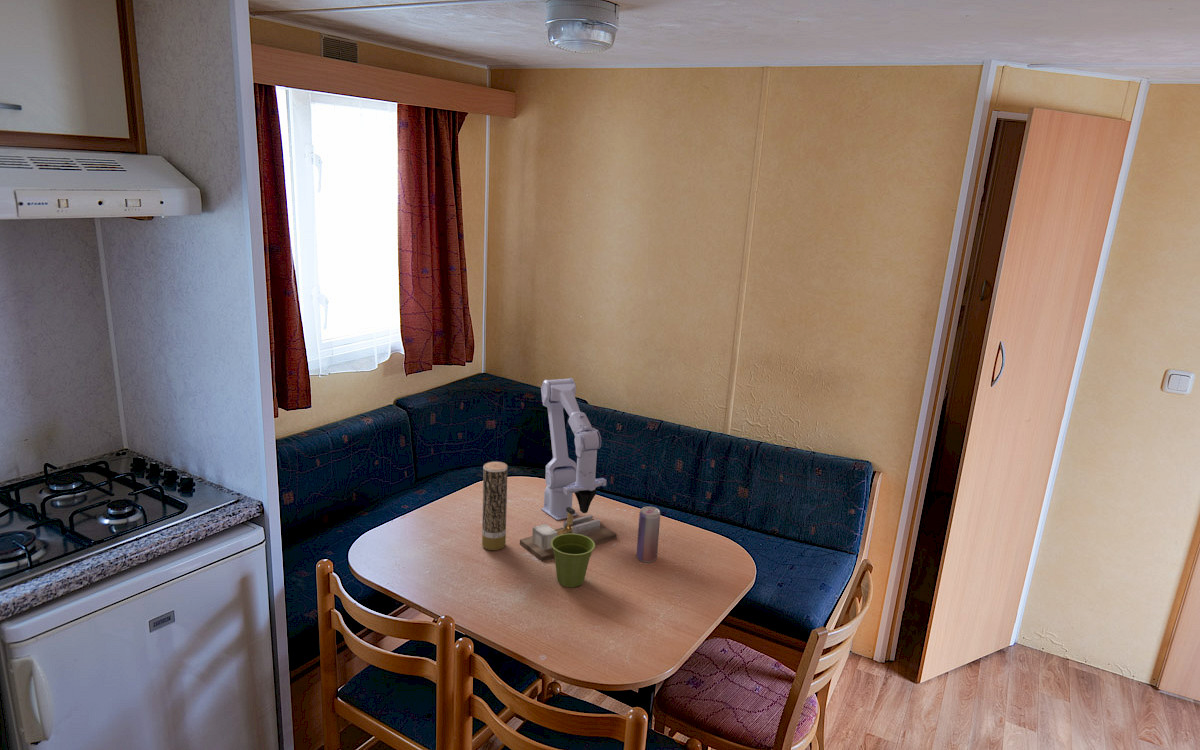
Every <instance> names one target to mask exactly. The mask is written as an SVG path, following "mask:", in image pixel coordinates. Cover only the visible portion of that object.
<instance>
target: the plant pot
mask: <svg viewBox="0 0 1200 750" xmlns="http://www.w3.org/2000/svg"><path fill="white" fill-rule="evenodd" d="M551 546H552V548H553V552H554V555H555V558H554V563H555V572H556V573H555V574H556V580H557V583H559V584H560V585H561V586H563V587H565V588H576V587H577V586H582V585H583V584H584V582H585V578H586V574H587V571H588V570H587V569H588V567H589V562H590V559H591V556H592V552H593V551H594V550H595V548H596V545H595V543H594V541H593V540H592V539H591V538H589V537H587V536H584V535H581V534H574V533H568V534H561V535H558V536H556V537H554V538H553V539H552V541H551Z"/></svg>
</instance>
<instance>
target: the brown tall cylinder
mask: <svg viewBox="0 0 1200 750" xmlns="http://www.w3.org/2000/svg"><path fill="white" fill-rule="evenodd" d="M482 468H483V470H482V472H483V473H482V474H483V475H482V477H483V478H482V481H483V482H482V524H481V525H482V529H481V530H482V531H481V532H482V536H481V537H482V538H481V539H482V541H481V542H482V543H481V544H482V545H481V546H482V547H483V548H484V549H485V550H487V551H499V550H501V549H504V548H505V546H506V541H507V540H506V539H507V537H506V536H507V509H508V507H507V506H508V505H507V504H508V502H507V500H508V471H509V470H508V464H507V463H505V462H502V461H488V462H486V463H484V464H483V467H482Z"/></svg>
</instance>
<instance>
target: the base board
mask: <svg viewBox="0 0 1200 750" xmlns="http://www.w3.org/2000/svg"><path fill="white" fill-rule="evenodd" d="M592 520H595V518H592ZM561 529H564V526H563V527H560V528H557V529H554V530H555V531H557V530H561ZM617 536H618V534H617V533H616V532H615V531H613V530H611V529H610V528H608V527H606V526H605V525H604V524H602V523H601V522H600V529H599V533H596V534H592V535H589V536H587V537H589V538H591V539H592V540H593V541H594V543H595V546H598V545H600V544H604V543H607V542H609V541H613V540H616V539H617ZM519 545H520V546H521V547H523V548H524V549H525V550H527V551H528V552H529V553H530V554H532V555H533V556H534V557H535V558H536V559H538V560H539V561H540V560H541V561H540V562H545V561H547V560H551V559H555V555H554V552H553V548H551V549H547V550H543V549H542V548H540V547H539V546H538V545H536V544H535V543H534V542H532V535H531V536H528V537H524V538H521V539H519Z"/></svg>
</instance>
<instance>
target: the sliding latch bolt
mask: <svg viewBox="0 0 1200 750" xmlns="http://www.w3.org/2000/svg"><path fill="white" fill-rule="evenodd" d="M566 511H567V512H568V513H567V518H566V521H567V528H564V529H561V530H557V531H556V532H558V535H561V534H568V533H571V526H573V519H574V516H573V514H575V512H576V510H575V509H574V508H573V507H572V508H570V507H567V508H566Z"/></svg>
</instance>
